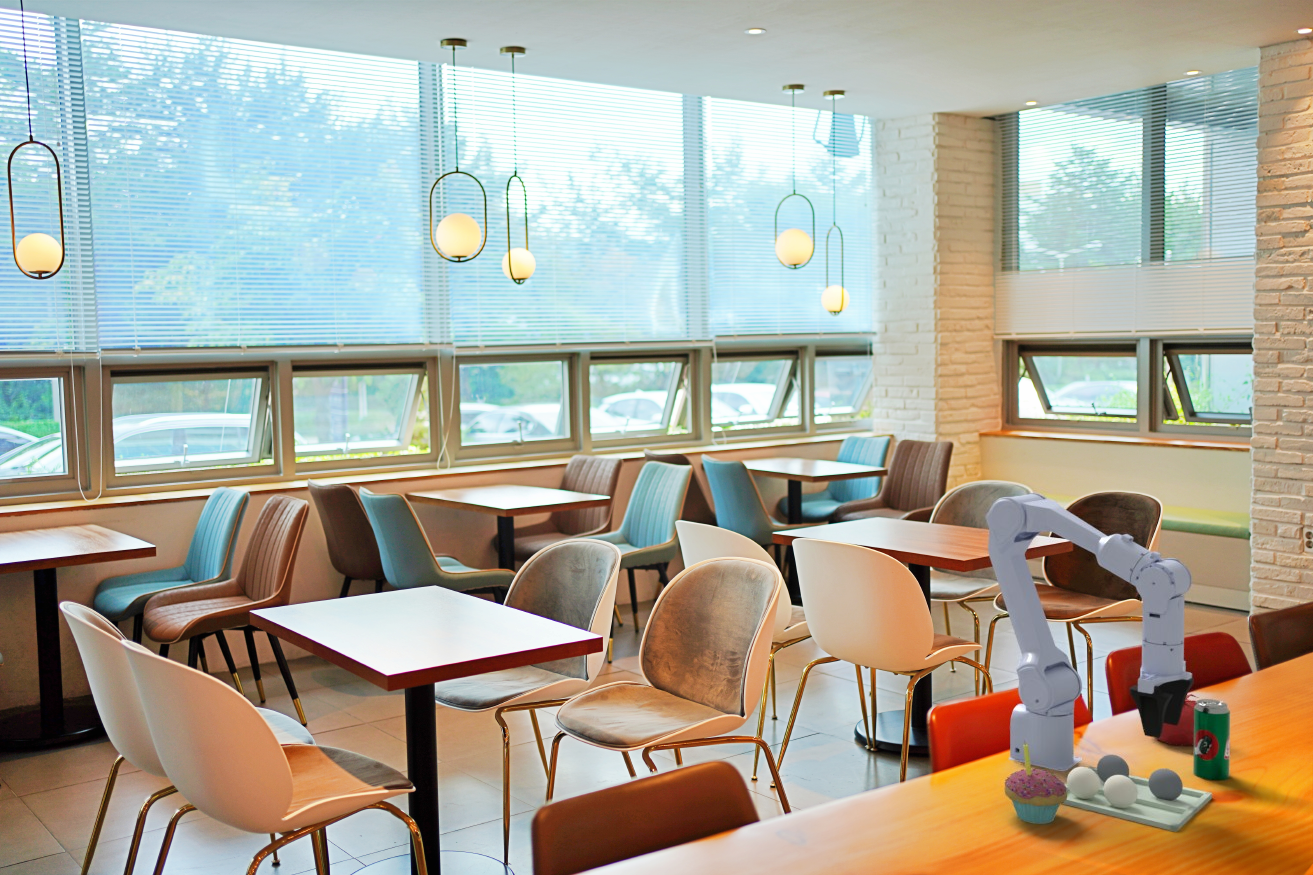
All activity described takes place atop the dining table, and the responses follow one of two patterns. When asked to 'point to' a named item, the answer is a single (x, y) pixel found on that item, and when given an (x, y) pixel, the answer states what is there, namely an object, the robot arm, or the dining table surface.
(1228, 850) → the dining table surface
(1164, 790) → the charcoal ball front
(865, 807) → the dining table surface
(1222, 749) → the soda can
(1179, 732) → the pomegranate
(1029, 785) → the cupcake
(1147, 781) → the rack
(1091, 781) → the cream ball left
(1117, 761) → the charcoal ball back
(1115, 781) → the cream ball middle
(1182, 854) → the dining table surface
